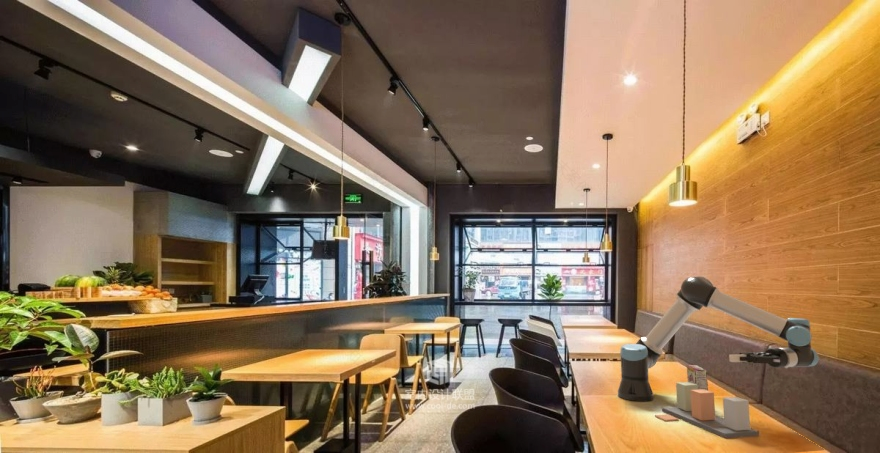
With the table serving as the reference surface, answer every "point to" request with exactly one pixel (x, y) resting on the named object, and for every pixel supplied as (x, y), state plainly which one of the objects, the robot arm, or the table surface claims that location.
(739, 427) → the light grey block
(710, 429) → the charcoal key base
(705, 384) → the candy bar box
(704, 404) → the terracotta key
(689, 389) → the sage green block
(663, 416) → the terracotta tile
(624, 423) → the table surface
